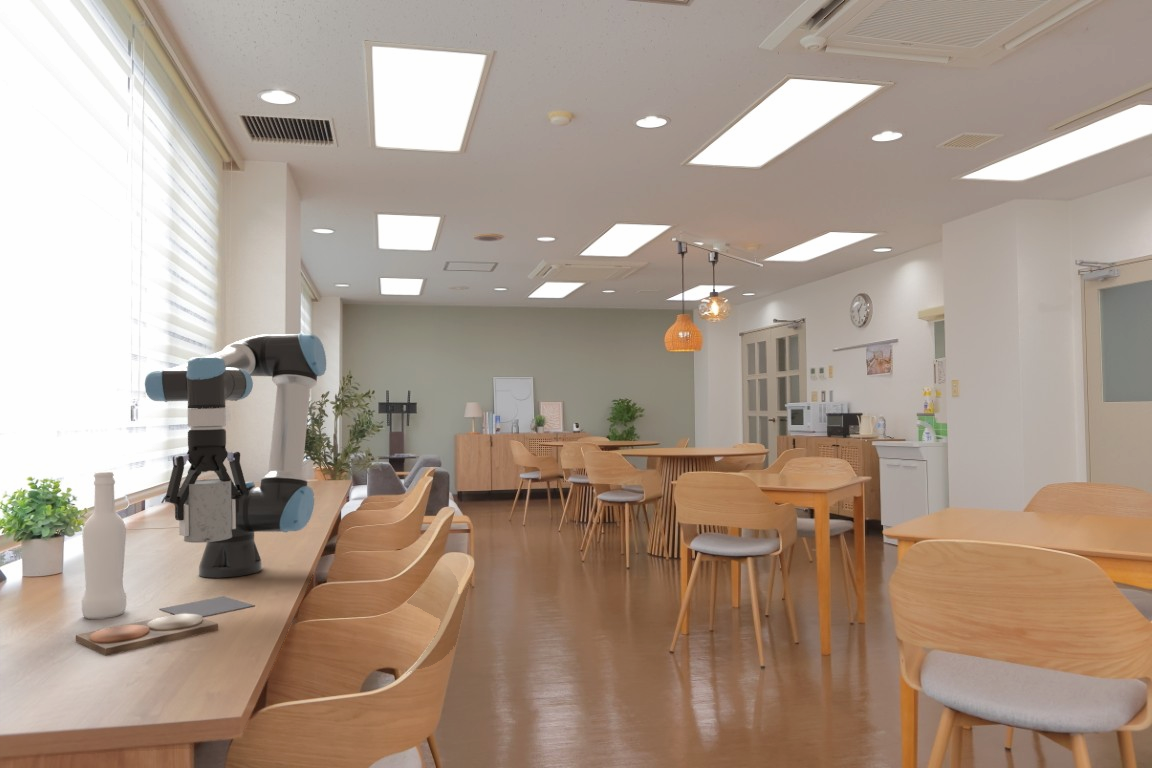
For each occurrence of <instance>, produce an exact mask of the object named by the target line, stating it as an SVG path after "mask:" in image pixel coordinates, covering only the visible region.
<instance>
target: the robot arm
mask: <svg viewBox="0 0 1152 768" xmlns="http://www.w3.org/2000/svg"><path fill="white" fill-rule="evenodd" d="M326 370H327V355H326V351H325V348H324V344H323V343H322V341H321V339H320V337H318V336H317V335H315V334H312V333H311V334H310V333H286V334H283V333H282V334H278V333H277V334H259V335H255V336H251V337H247V338H244V339H241V340H239V341H238V340H237V341H235V342H233V343H230V344H228V345H226V346H225V347H224V348H223V349H222V350H221V351H218V352H216V353H213V354H210V355H207V356H199V357H198V356H197V357H196V356H195V357H191V358H189V359H188V361H187V363H185V364H181V365H177V366H175V367H172V368H164V367H162V368H156V369H155V368H154V369H152V370H150V371H149V372H147V374H146V376H145V380H144V388H145V393H146V395H147V397H148V398H149V399H150V400H152V401H154V402H165V403H168V402H187V427H189V428H190V429H189V430H188V431H187V448H188V451H187V453H186V454H183V455H173V456H172V466H173V467H172V471H171V475H170V479H169V482H168V486H167V490H166V494H165V497H164V500H165V503H171V504H173V505H174V517H175V521H178V522H179V524H178V525H179V531H178V532H179V536H183V537H184V536H189V505H187V504H184V503H185V501H186V499H187V497H188V495H189V484H195V482H196V480H198V478H199V476H201V474H202V473H207V472H214V473H215V474H216V476H217V477H218V479H220V481H230V480H232V479H233V480H232V481H231V511H232V537H231V538H229V539H226V540H221V541H214V542H205V548H204V550H203V553H202V556H201V559H200V562H199V566H198V576H199V577H203V578H209V579H210V578H213V579H215V578H222V579H223V578H233V577H241V576H247V575H251V574H256V573H258V572H260V571H262V563H263V562H262V559H261V556H260V553H259V550H258V548H257V545H256V540H255V532H258V533H261V532H262V533H264V532H266V533H269V532H272V533H273V532H274V533H275V532H276V533H278V532H282V533H288V532H298V531H301V530H303V529H304V528H305V527H306V526H308V523H309V521H310V520H311V518H312V515H313V512H314V506H315V497H314V495H315V493H314V490H313V489H312V487H310V486H308V480H307V479H306V477H305V476H304V475H303V470H304V460H305V449H306V439H307V437H306V436H307V427H308V419H309V418H308V417H309V416H308V415H309V405H310V395H311V389H312V388H314V387H315V386H317V382H318V381H317V379H318V377H321V376H323V375H324V374H325V373H326ZM253 377H272V378H271V380H272V382H273V383H274V384H275V385H276V386H277V387H276V395H275V404H274V413H273V415H274V416H273V423H272V431H271V432H272V433H271V443H270V450H269V451H270V452H269V459H268V460H269V462H268V472H267V473H266V474H265V475H264V476H263V477H261V478H260V486H259V487H258V486H256V484H255V482H254V481H246V480H245V477H244V473H243V469H242V466H241V462H240V461H241V452H240V451H234V450H233V451H227V448H226V445H227V431H226V429H225V428H224V427H225V426H226V425H227V423H226V422H227V419H226V418H227V417H226V415H227V414H226V413H227V411H226V401H230V402H233V401H234V402H236V401H237V402H238V401H239V400H244V399H246V398H247V397H248V396H249V395H250V394H251V393H252V390H253V387H254V385H253V384H254V380H253ZM226 459H227V461H228V464H229V468H230V470H231V474H232V478H231V476H230V474H229V473H228V471H227V470H228V469H227V467H226V466H225V464H224V462H225V461H226ZM187 462H189V463H190V467H189V468H188V470H187V475H186V476H185V478H184V481H183V482H182V478H183V475H184V471H185V465H186V464H187ZM181 482H182V484H181Z"/></svg>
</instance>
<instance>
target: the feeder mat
mask: <svg viewBox="0 0 1152 768" xmlns="http://www.w3.org/2000/svg"><path fill="white" fill-rule="evenodd" d="M255 606H256V605H255V604H252V603H248V602H245V601H241V600H238V599H234V598H230V597H227V596H218V597H211V598H208V599H203V600H195V601H193V602H186V603H183V604H176V605H171V606H165V607H162V608H159V611H162V612H165V613H168V614H170V615H173V614H174V615H175V614H180V613H188V614H198V615H201V616H202V617H203V618H206V617H210V616H214V615H215V616H216V615H218V614H224V613H229V612H233V611H234V612H235V611H239V610H244V609H246V608H252V607H255Z"/></svg>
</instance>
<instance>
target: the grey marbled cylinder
mask: <svg viewBox="0 0 1152 768" xmlns="http://www.w3.org/2000/svg"><path fill="white" fill-rule="evenodd" d="M231 481H232V482H233V480H232V479H231V480H230V481H220V479H219V478H216V479H215V478H213V479H212V478H211V479H209V478H208V479H199V480H198V479H197V480H196V482H195V484H189V495H188V497H187V499H186V501H185V503H184V504H187V505H189V536H183V541H184V542H185V543H192V544H193V543H196V544H197V543H206V542H214V541H221V540H226V539H229V538H231V537H232V511H231Z"/></svg>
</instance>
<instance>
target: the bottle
mask: <svg viewBox="0 0 1152 768" xmlns="http://www.w3.org/2000/svg"><path fill="white" fill-rule="evenodd" d="M93 477H94V481H93V485H94V506H93V507H94V509H93V510H94V511H93V512H92V514H91V515H90V516H89V517H88V518H87V520H86V521H85V523H84V526H83V527H82V536H81V537H82V549H83V550H82V551H83V565H84V580H85V581H84V582H85V585H84V586H85V590H84V594H83V596H82V599H81V612H82V616H83V617H84V618H85V619H86V620H101V619H109V618H114V617H118V616H121V615H122V614H123V613H124V612H125V611H126V608H127V593H126V592H125V589H124V588H125V587H124V571H125V570H124V568H125V567H124V566H125V551H126V541H127V540H126V538H127V527H126V524H125V520H124V519H123V518H122V517H121V515H120V514H119V513H117V511H116V510H115V509H116V508H115V505H116V504H115V484H116V481H115V479H114V472H113V471H110V470H103V471H102V470H100V471H96V472H95V473H94V475H93Z"/></svg>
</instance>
